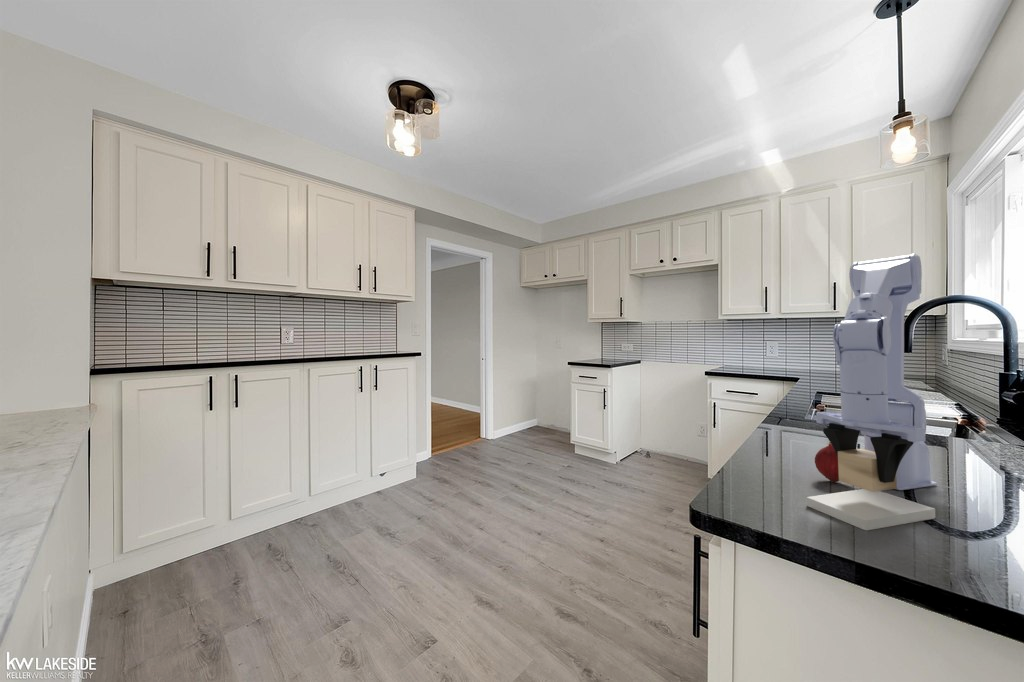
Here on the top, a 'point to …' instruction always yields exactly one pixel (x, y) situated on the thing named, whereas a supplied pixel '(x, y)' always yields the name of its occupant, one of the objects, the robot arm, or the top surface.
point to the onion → (827, 463)
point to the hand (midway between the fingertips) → (866, 475)
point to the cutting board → (870, 508)
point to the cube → (861, 470)
